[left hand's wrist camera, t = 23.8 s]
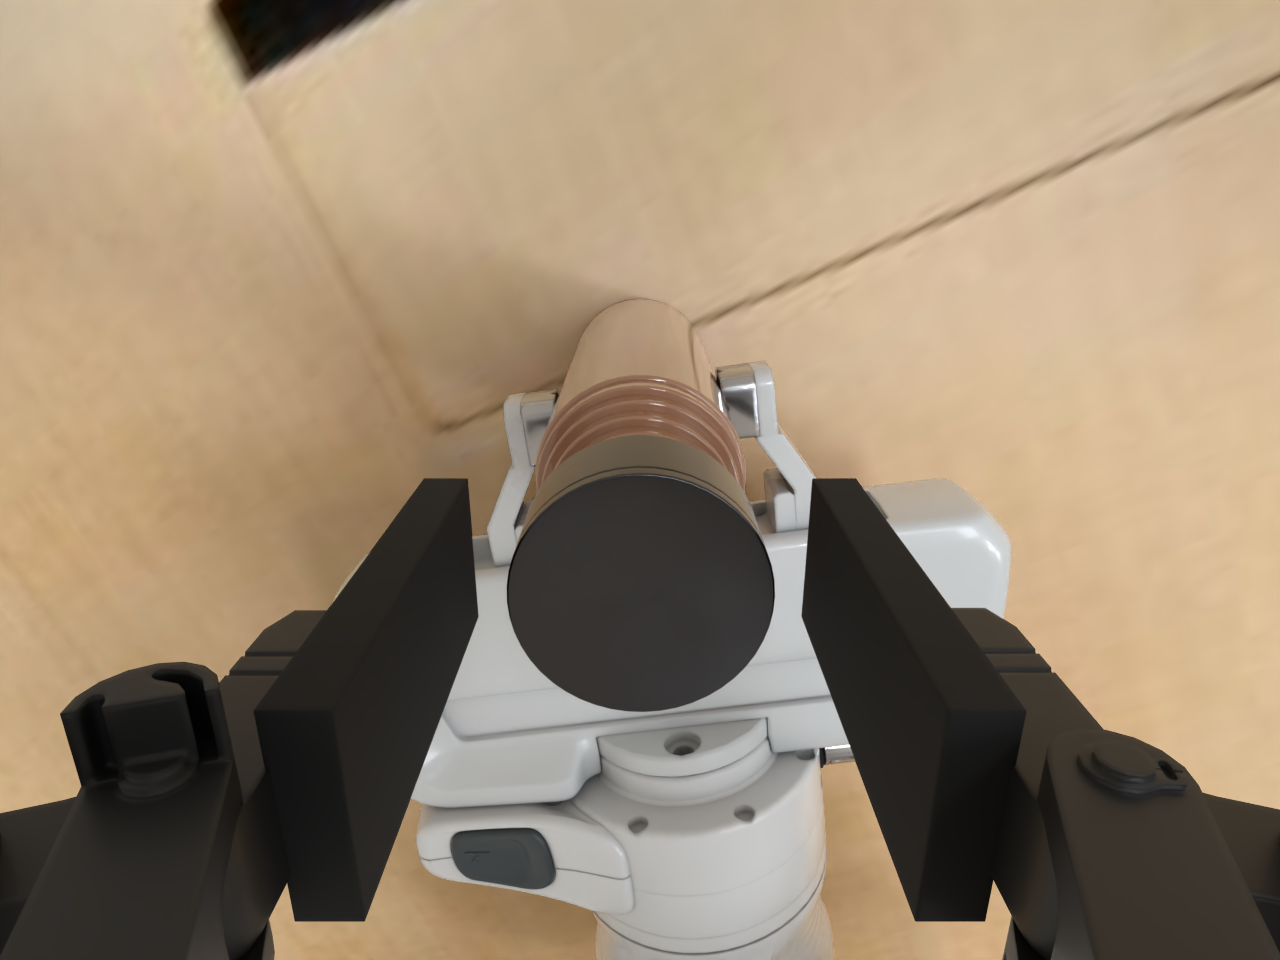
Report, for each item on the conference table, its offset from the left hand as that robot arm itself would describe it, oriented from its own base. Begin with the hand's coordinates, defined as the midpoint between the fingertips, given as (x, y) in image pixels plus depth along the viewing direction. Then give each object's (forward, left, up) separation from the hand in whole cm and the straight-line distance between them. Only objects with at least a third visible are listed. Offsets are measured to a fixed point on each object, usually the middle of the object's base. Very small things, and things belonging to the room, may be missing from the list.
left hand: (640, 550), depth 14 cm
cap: (0, 0, +2) cm, 2 cm away
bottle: (0, 0, -16) cm, 16 cm away
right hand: (-1, 0, -9) cm, 9 cm away
